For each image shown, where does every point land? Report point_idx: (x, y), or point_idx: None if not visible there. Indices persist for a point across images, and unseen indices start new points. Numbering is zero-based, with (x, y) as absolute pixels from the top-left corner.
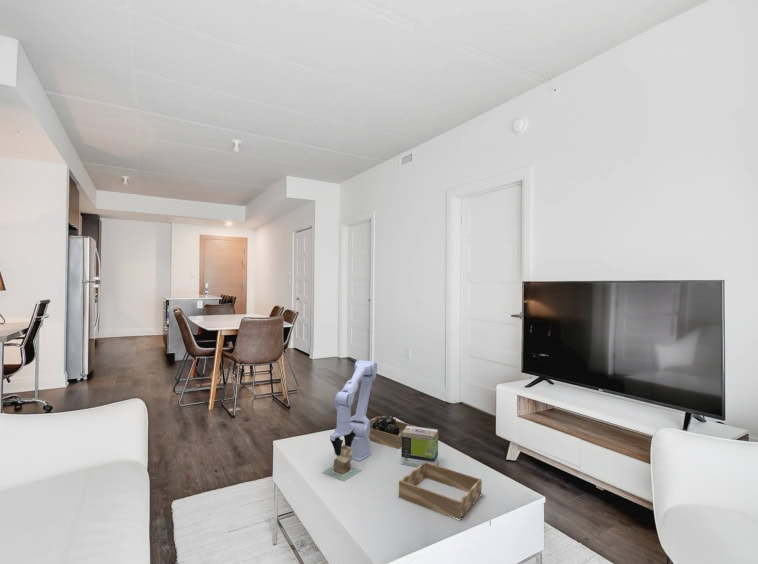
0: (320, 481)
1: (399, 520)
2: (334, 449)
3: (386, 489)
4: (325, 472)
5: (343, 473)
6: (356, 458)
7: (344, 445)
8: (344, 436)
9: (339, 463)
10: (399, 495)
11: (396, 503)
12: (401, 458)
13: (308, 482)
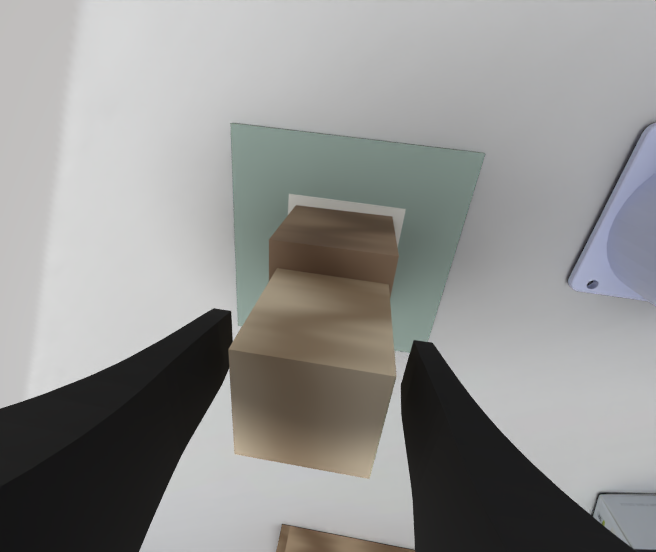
0: (138, 198)
1: (172, 539)
2: (162, 345)
3: (305, 487)
4: (249, 151)
5: None
6: (606, 252)
7: (382, 391)
8: (469, 508)
9: None
10: (280, 533)
11: (241, 524)
12: (622, 533)
13: (63, 128)
